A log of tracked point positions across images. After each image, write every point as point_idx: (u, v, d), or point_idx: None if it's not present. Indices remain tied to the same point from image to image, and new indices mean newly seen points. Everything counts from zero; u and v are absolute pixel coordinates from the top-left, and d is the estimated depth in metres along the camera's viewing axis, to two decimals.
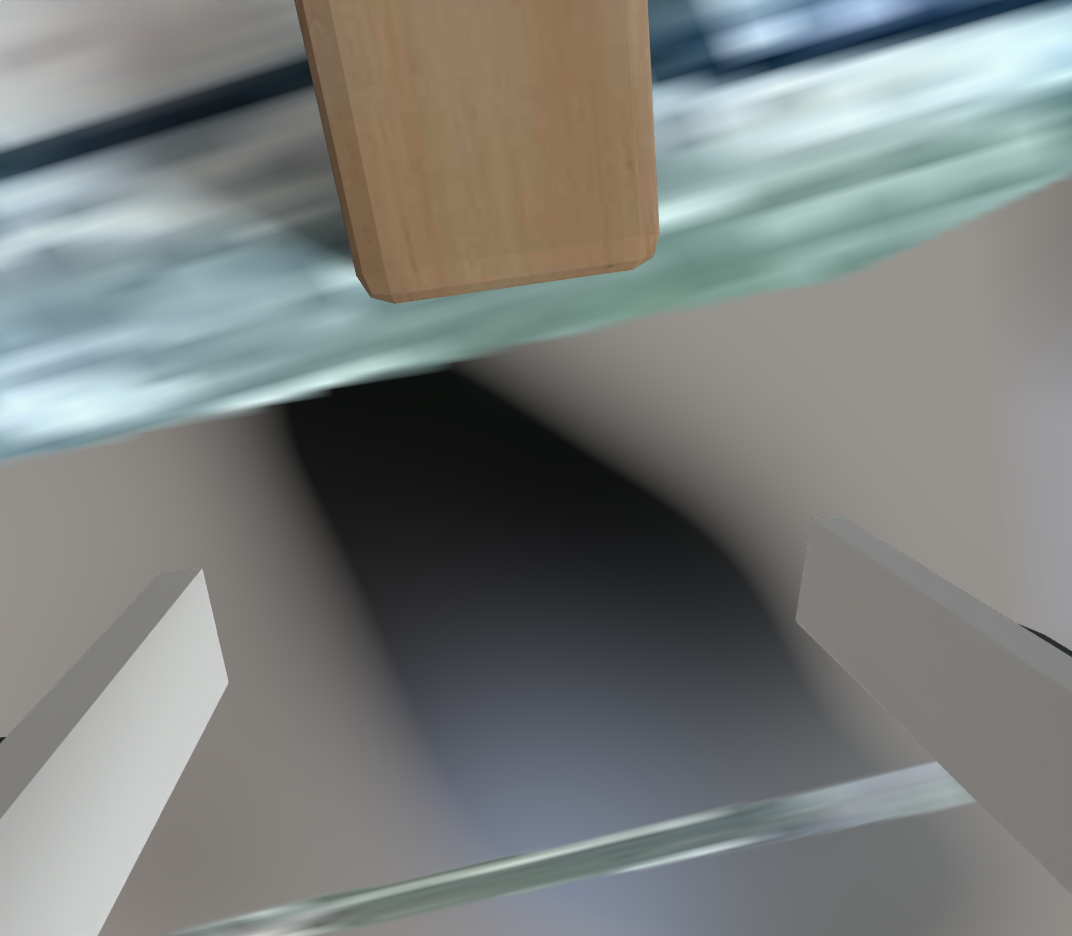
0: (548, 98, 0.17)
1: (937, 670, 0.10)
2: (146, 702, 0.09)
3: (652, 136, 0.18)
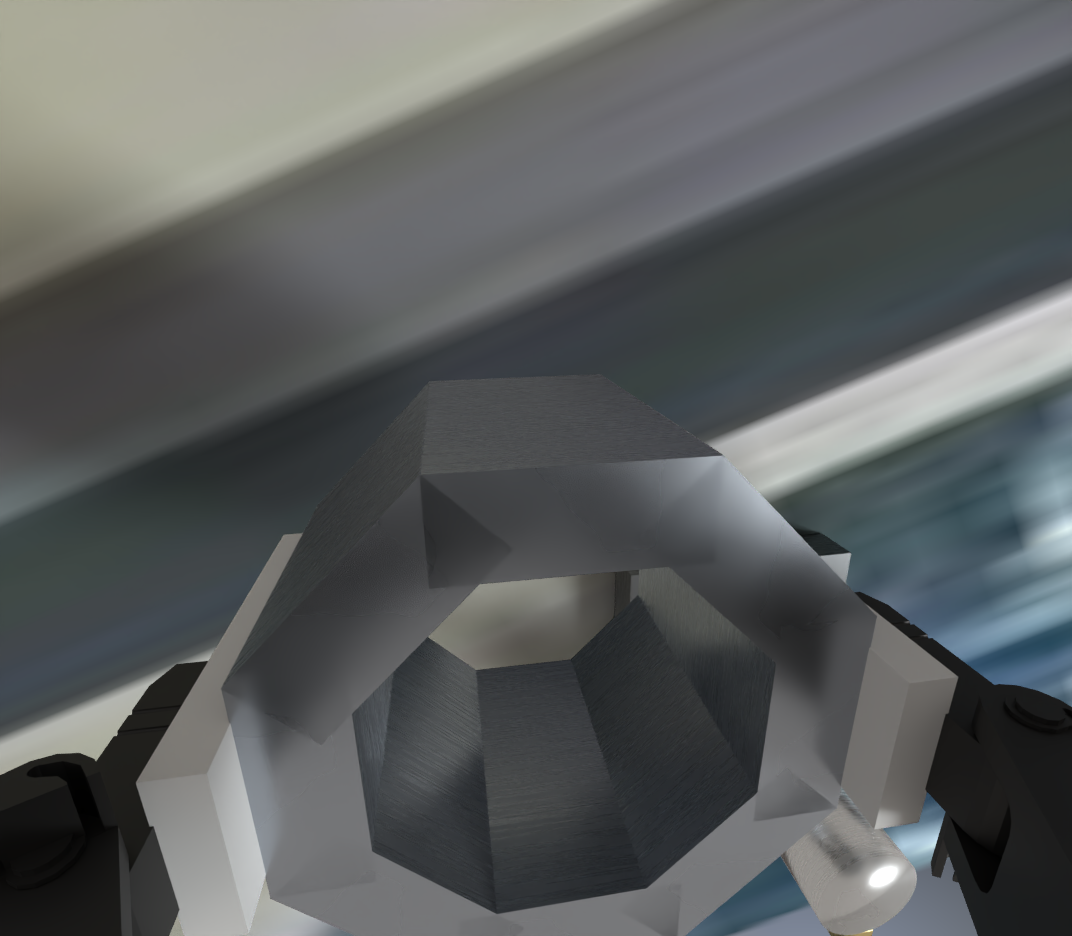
0: None
1: None
2: None
3: None
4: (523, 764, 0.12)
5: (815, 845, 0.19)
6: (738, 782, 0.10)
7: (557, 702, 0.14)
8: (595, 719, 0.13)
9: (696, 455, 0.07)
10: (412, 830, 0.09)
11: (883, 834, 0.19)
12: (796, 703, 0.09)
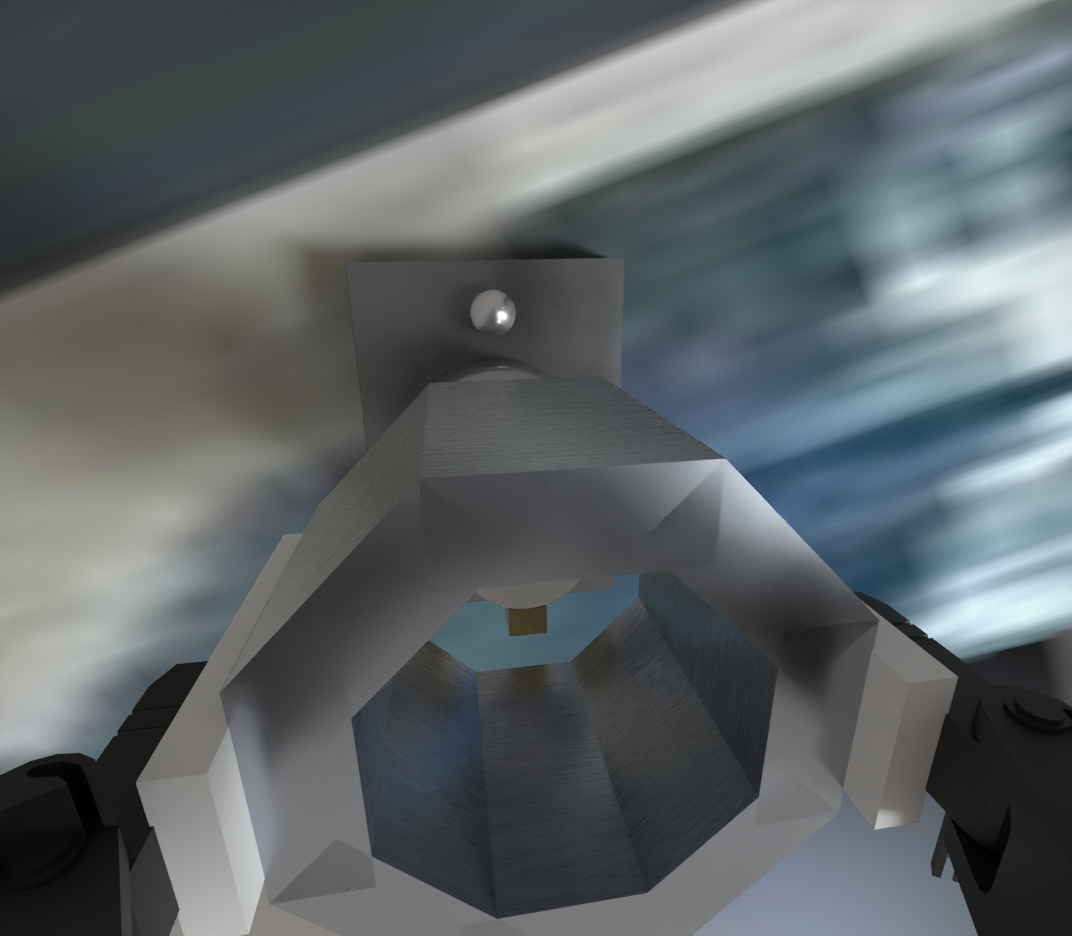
0: None
1: None
2: None
3: None
4: (523, 767, 0.12)
5: None
6: (740, 787, 0.10)
7: (558, 705, 0.14)
8: (595, 722, 0.13)
9: (698, 458, 0.07)
10: (411, 835, 0.09)
11: None
12: (798, 707, 0.09)
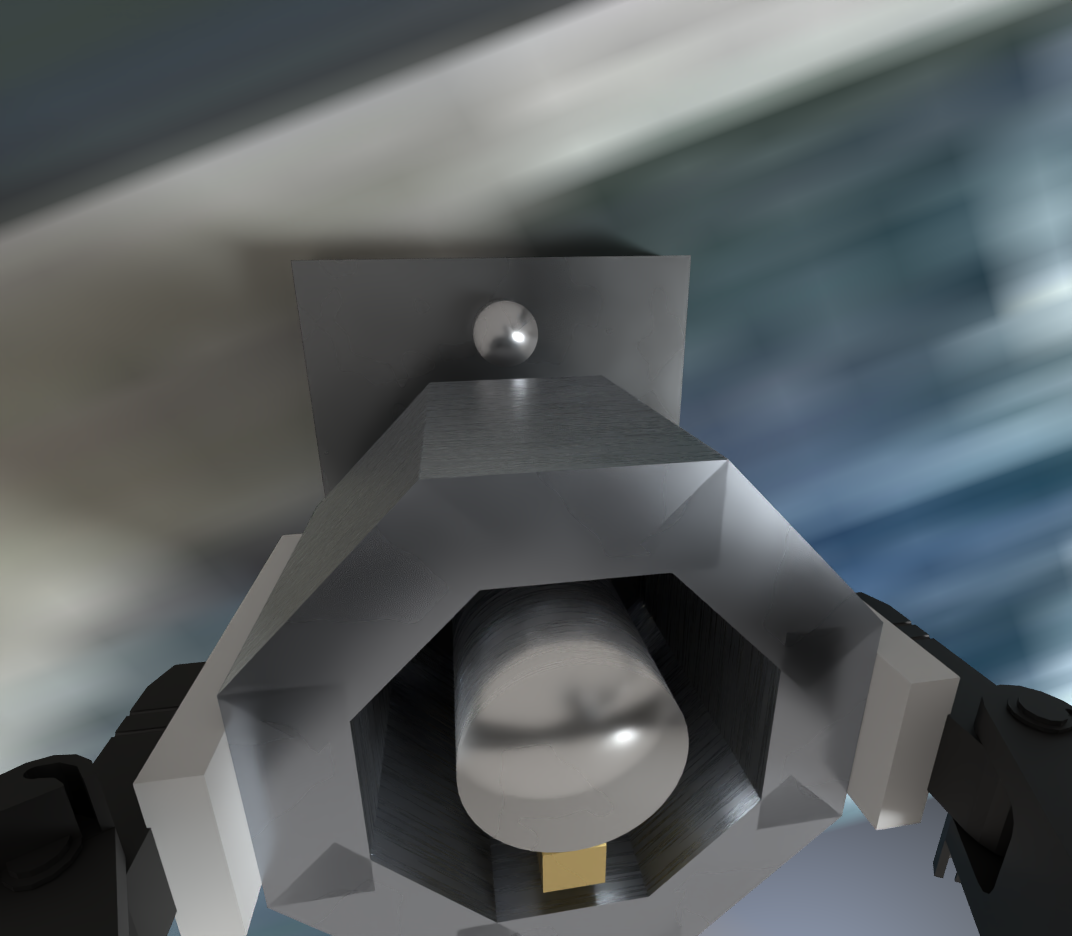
0: None
1: None
2: None
3: None
4: None
5: (479, 660, 0.09)
6: (741, 789, 0.09)
7: None
8: None
9: (700, 459, 0.07)
10: (411, 837, 0.09)
11: (625, 640, 0.09)
12: (801, 709, 0.09)
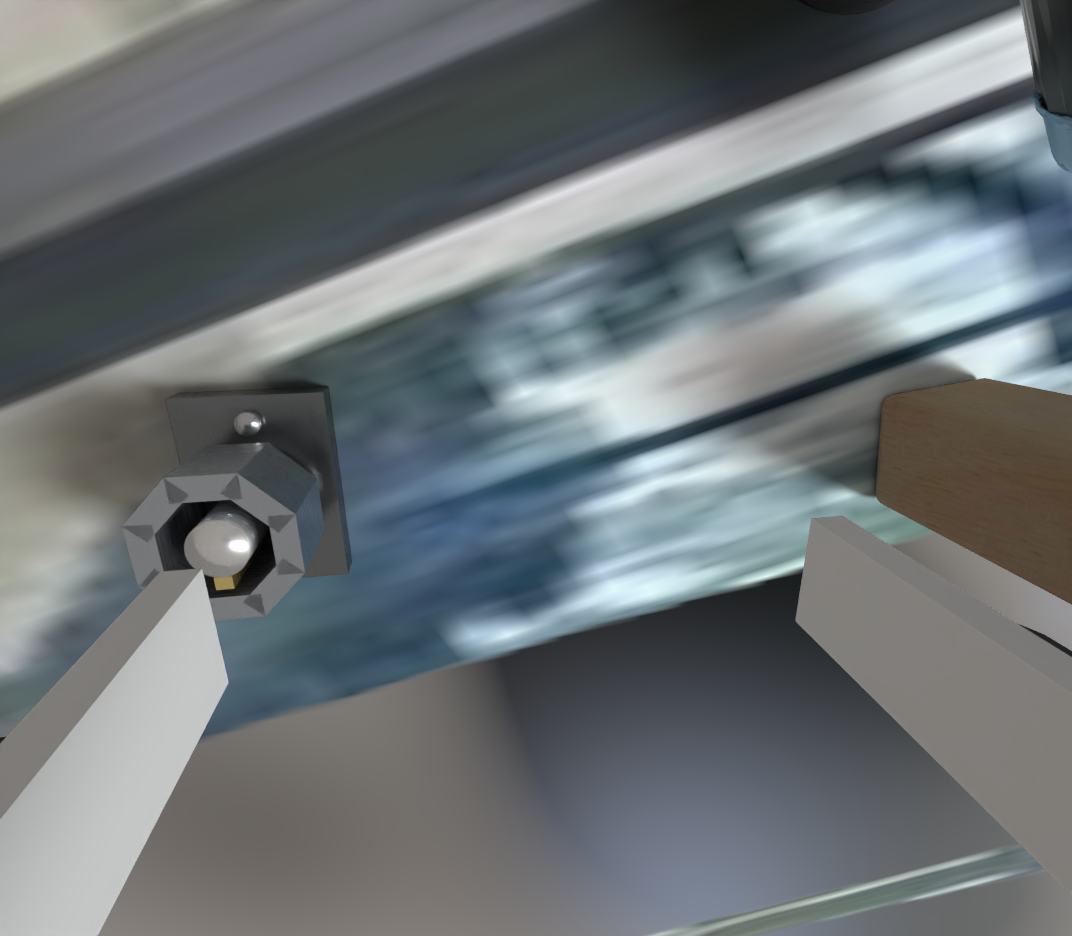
0: None
1: (937, 670, 0.10)
2: (146, 702, 0.09)
3: None
4: None
5: None
6: (275, 565, 0.34)
7: (260, 559, 0.38)
8: (268, 563, 0.37)
9: (231, 473, 0.31)
10: None
11: (234, 520, 0.33)
12: (279, 538, 0.33)
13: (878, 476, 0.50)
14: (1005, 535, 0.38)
